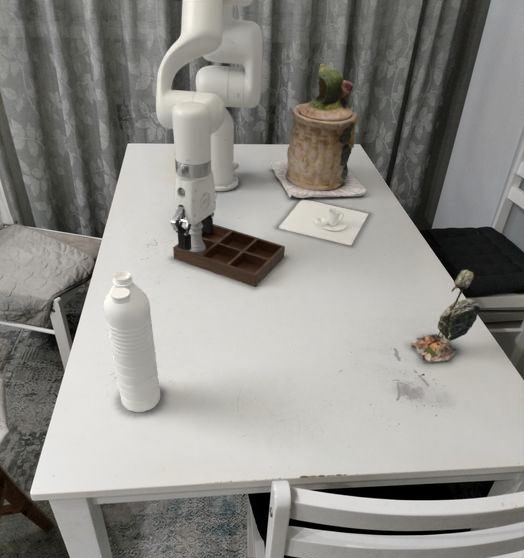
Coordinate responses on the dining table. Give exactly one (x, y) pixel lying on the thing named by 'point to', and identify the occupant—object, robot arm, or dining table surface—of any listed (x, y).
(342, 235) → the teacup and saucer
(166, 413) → the dining table surface
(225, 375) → the dining table surface
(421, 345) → the plant with pod
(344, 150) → the cookie jar
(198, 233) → the rook chess piece
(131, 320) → the water bottle
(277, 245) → the tray
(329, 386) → the dining table surface
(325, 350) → the dining table surface
